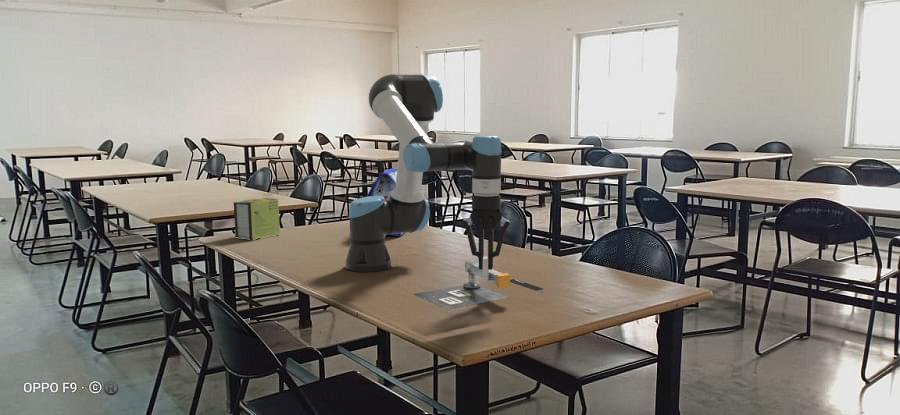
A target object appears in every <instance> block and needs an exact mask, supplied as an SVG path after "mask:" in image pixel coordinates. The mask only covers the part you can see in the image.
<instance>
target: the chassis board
mask: <svg viewBox="0 0 900 415" xmlns="http://www.w3.org/2000/svg"><path fill="white" fill-rule="evenodd" d="M455 290H461V291H463V292H466V293H469V294H471V296H466V297H460V298H458V297H456V296H454V295H451V294H449V293H447V292H450V291H455ZM412 295H413V296H416V297H418V298H421V299H423V300H425V301H427V302H430V303H432V304H433V305H437V306H439V307H441V308H444V309H446V310H452V309H457V308H463V307H467V306H471V305H479V304H483V303H487V302H488V303H489V302H493V301H498V300H503V299H509V298H510V297H509V296H507V295H505V294H501V293H498V292H495V291H492V290H490V289H488V288H486V287H485V288H484V287H482V284H481V283H479V282H476V275H475V274H473V273H471V272H468V281H467V282H463V285H457V286H452V287H446V288H440V289H434V290H427V291H422V292H417V293H413V294H412ZM448 297H452V298H455V299H457V300H460V301H462V302H463V303H461V304H456V305H448V304H446V303H444V302H441V301H439V299H443V298H448Z"/></svg>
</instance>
